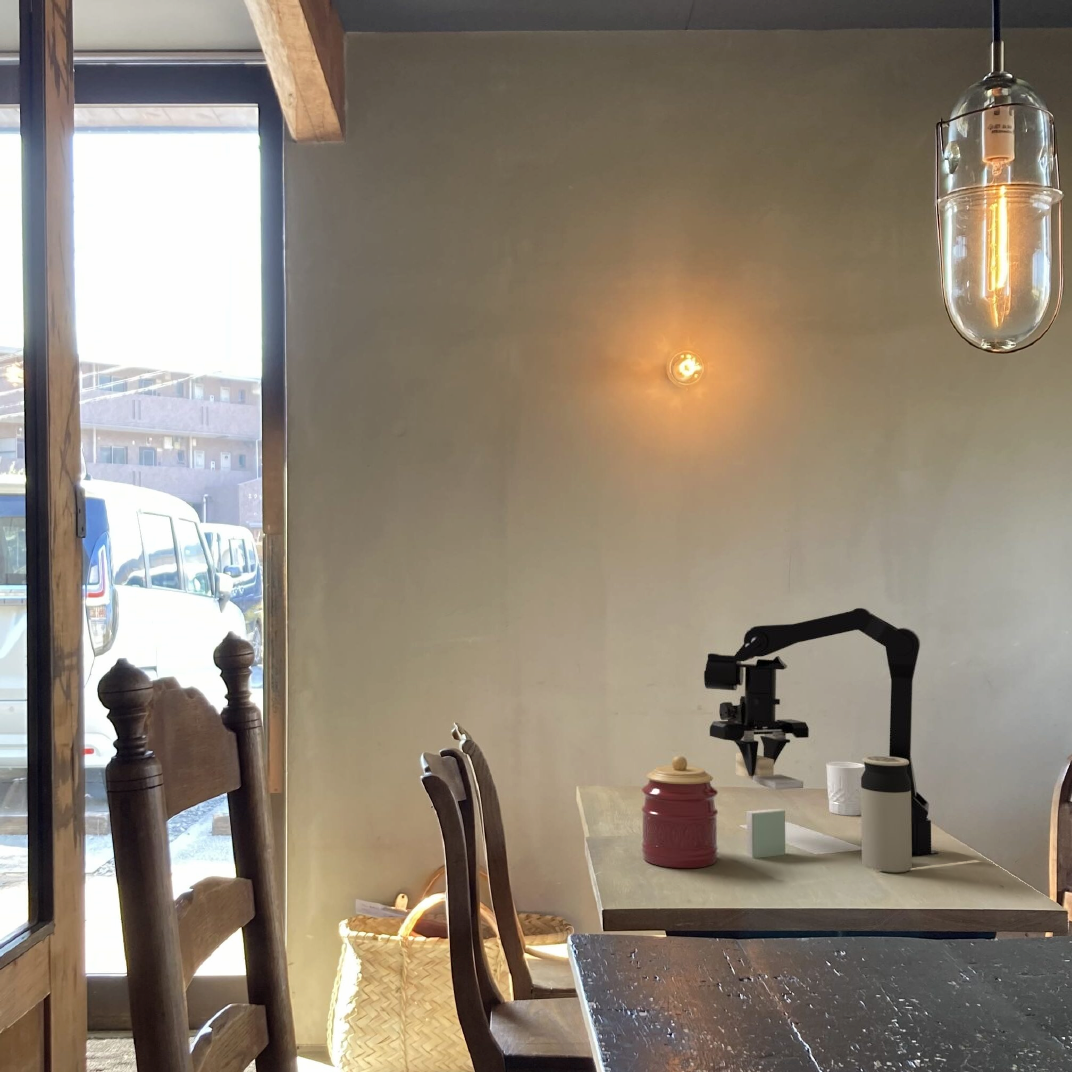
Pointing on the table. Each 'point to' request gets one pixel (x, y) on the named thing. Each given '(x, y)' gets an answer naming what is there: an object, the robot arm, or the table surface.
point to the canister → (679, 817)
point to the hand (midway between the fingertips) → (758, 775)
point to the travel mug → (886, 814)
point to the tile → (765, 833)
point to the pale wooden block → (766, 774)
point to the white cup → (844, 787)
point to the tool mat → (814, 840)
